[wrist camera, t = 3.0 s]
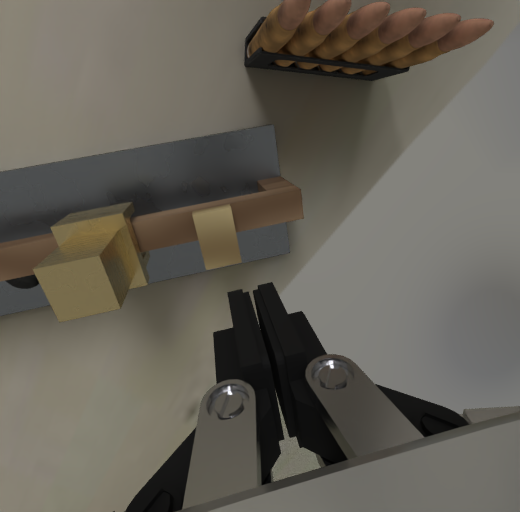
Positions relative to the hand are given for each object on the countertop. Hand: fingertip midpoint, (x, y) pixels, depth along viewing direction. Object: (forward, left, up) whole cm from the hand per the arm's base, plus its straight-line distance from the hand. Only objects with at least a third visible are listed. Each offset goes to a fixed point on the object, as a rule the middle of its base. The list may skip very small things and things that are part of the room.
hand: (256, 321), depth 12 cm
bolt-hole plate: (-1, -10, -18) cm, 20 cm away
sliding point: (0, -8, -16) cm, 18 cm away
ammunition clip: (-10, +9, -18) cm, 22 cm away
